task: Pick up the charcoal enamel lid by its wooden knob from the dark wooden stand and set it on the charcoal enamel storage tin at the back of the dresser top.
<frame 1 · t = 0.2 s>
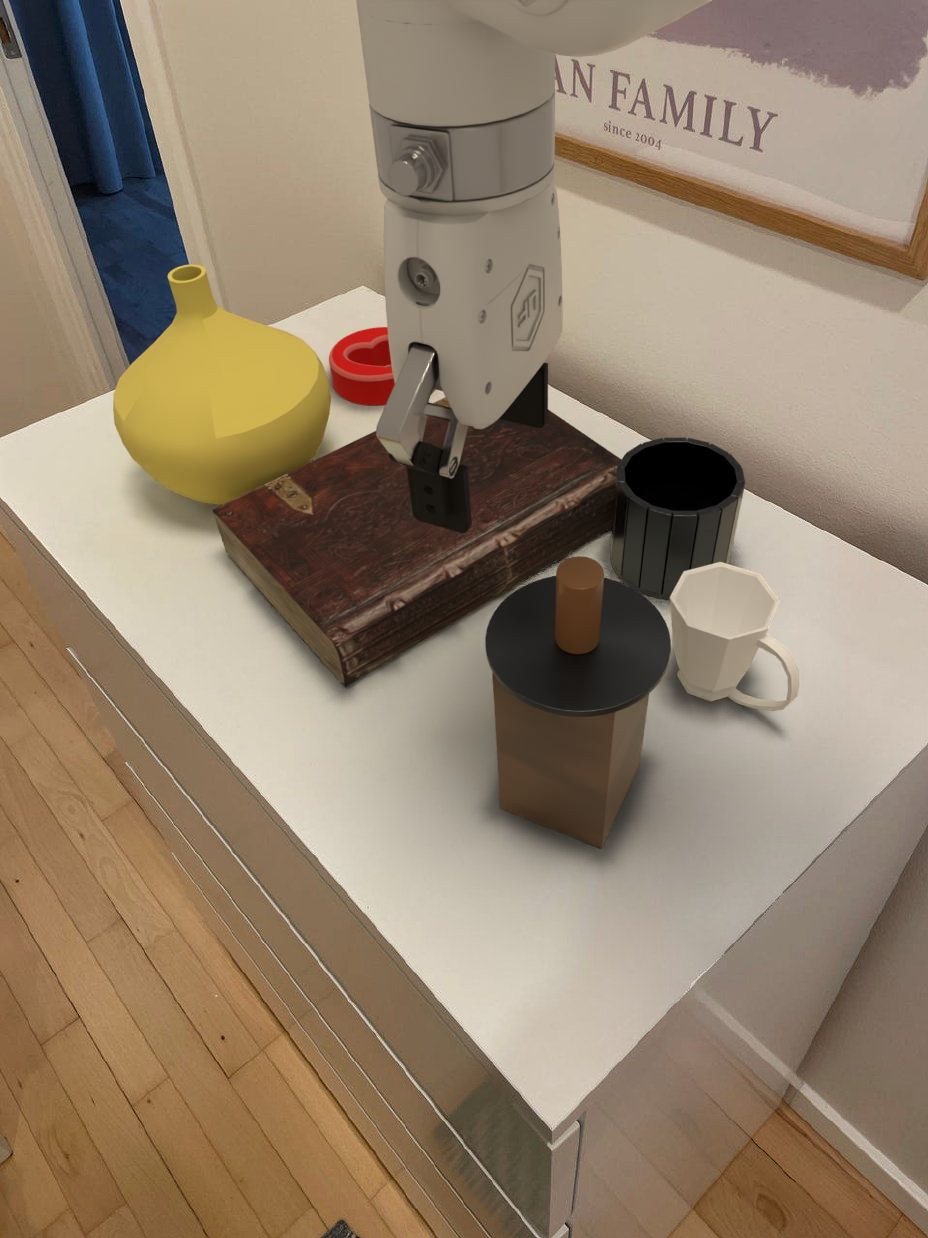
hand: (483, 469, 52), 21 cm above the dresser, tool pointing down, fingers open, 9 cm apart
cup: (724, 691, 66), on the dresser
stand: (570, 785, 62), on the dresser
tin lid: (576, 644, 51), point 14 cm above the dresser, touching stand
decorative ornament: (380, 379, 96), on the dresser
tin: (668, 558, 76), on the dresser
book: (432, 537, 79), on the dresser
vase: (244, 471, 87), on the dresser
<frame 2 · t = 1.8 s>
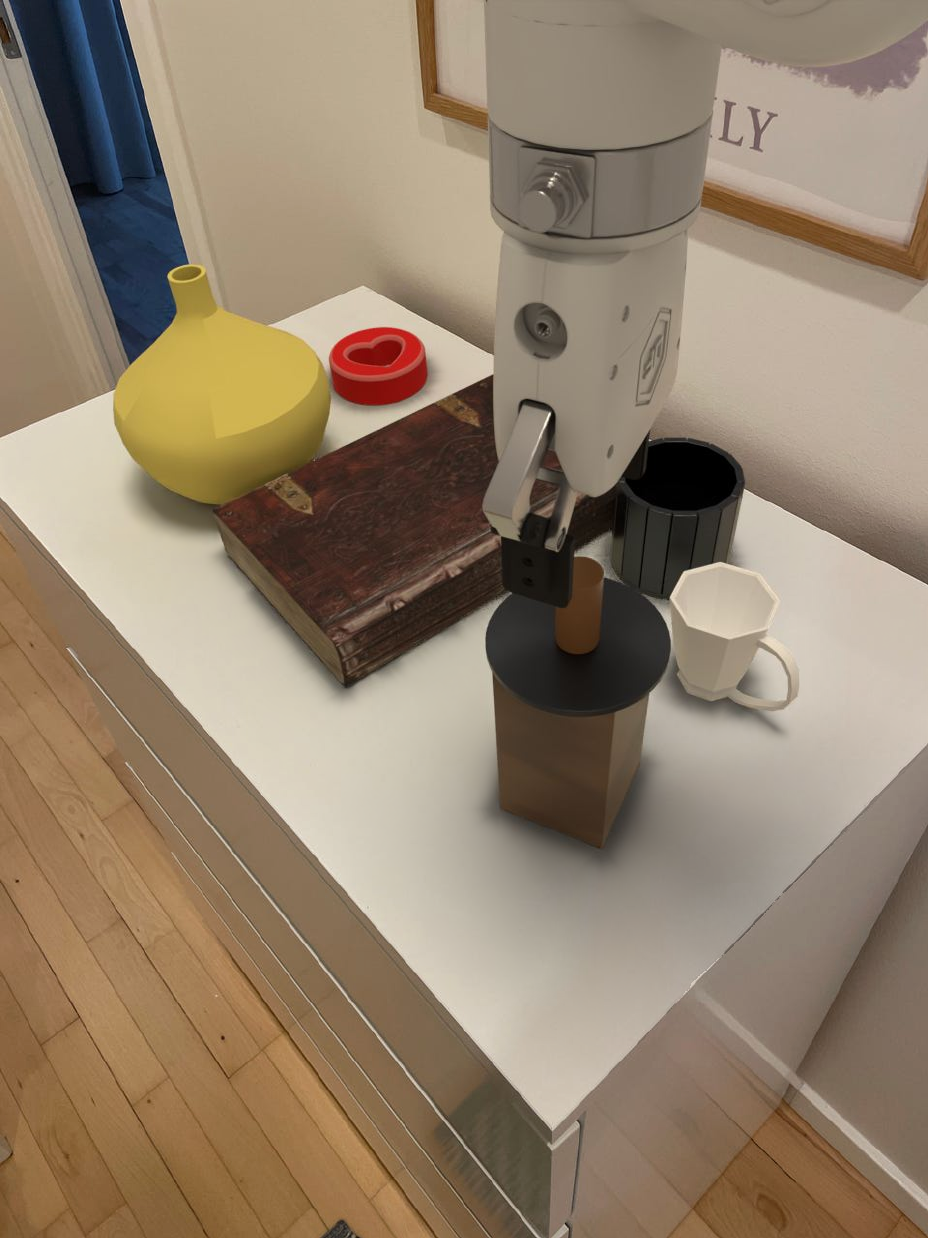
hand: (577, 529, 46), 22 cm above the dresser, tool pointing down, fingers open, 9 cm apart
nothing on the dresser moved.
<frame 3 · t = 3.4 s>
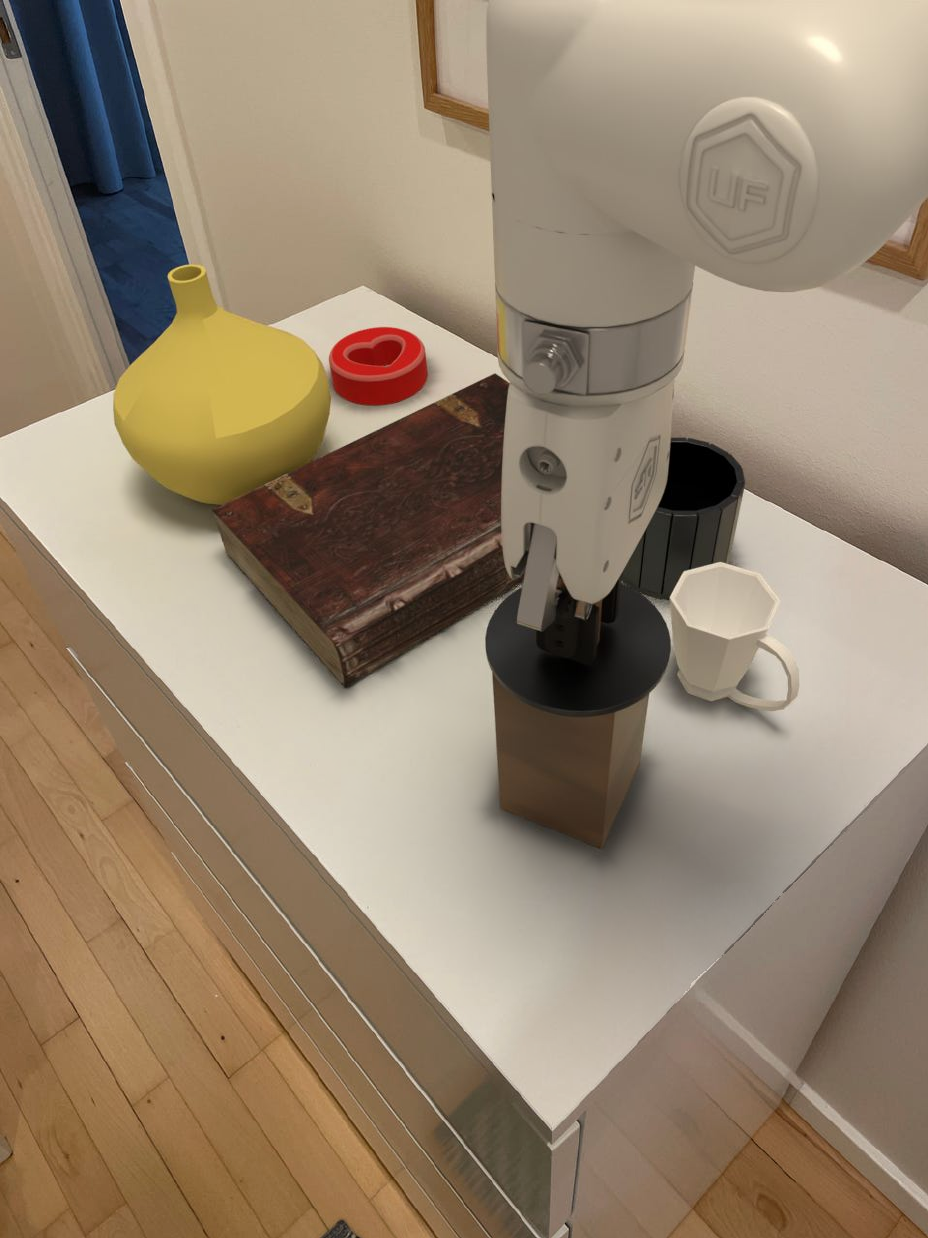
hand: (577, 630, 51), 15 cm above the dresser, tool pointing down, fingers closed on tin lid, 2 cm apart
tin lid: (576, 644, 51), point 14 cm above the dresser, touching gripper, stand
everything else where it was.
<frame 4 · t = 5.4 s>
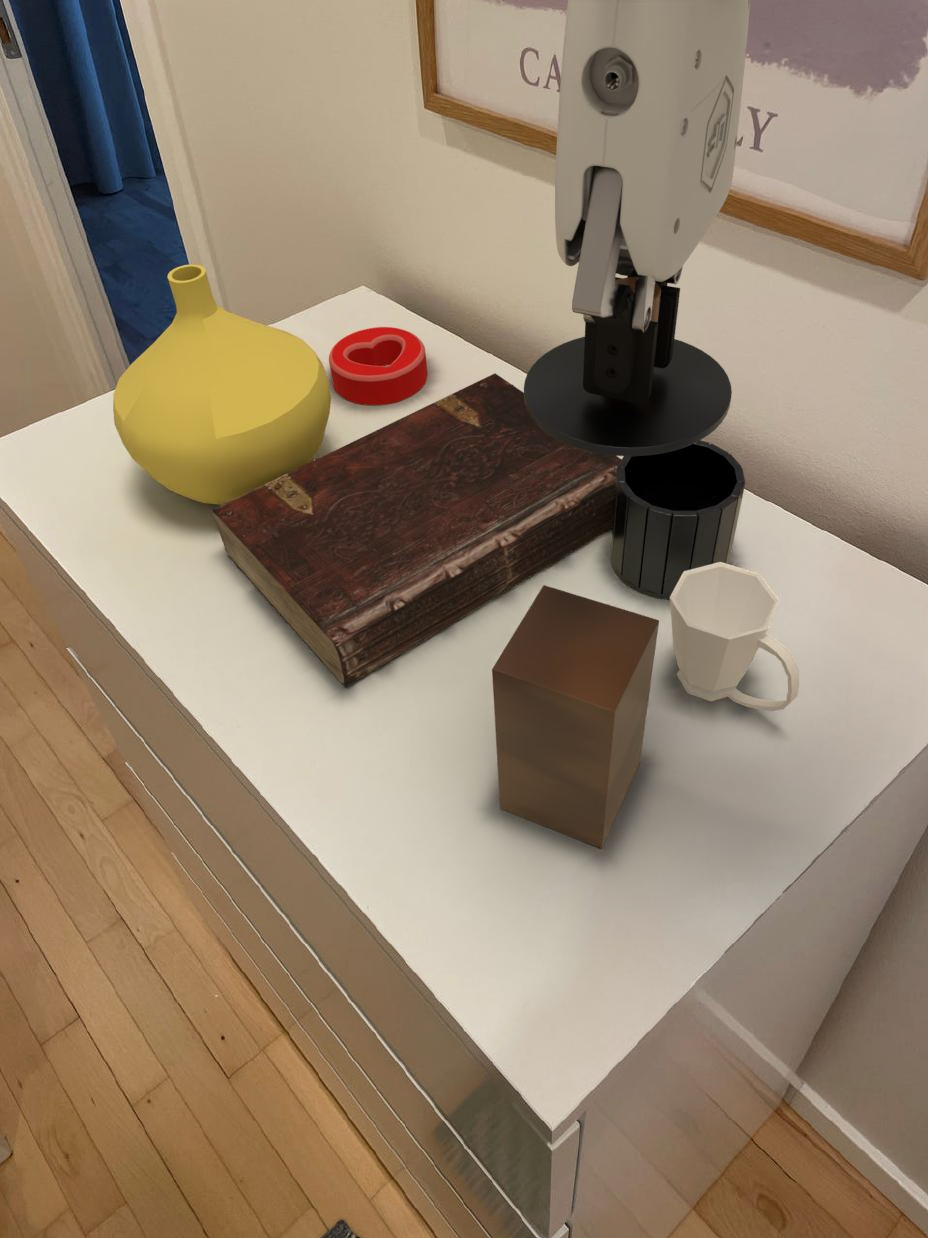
hand: (627, 374, 46), 27 cm above the dresser, tool pointing down, fingers closed on tin lid, 2 cm apart
tin lid: (625, 394, 46), point 26 cm above the dresser, touching gripper
everything else where it was.
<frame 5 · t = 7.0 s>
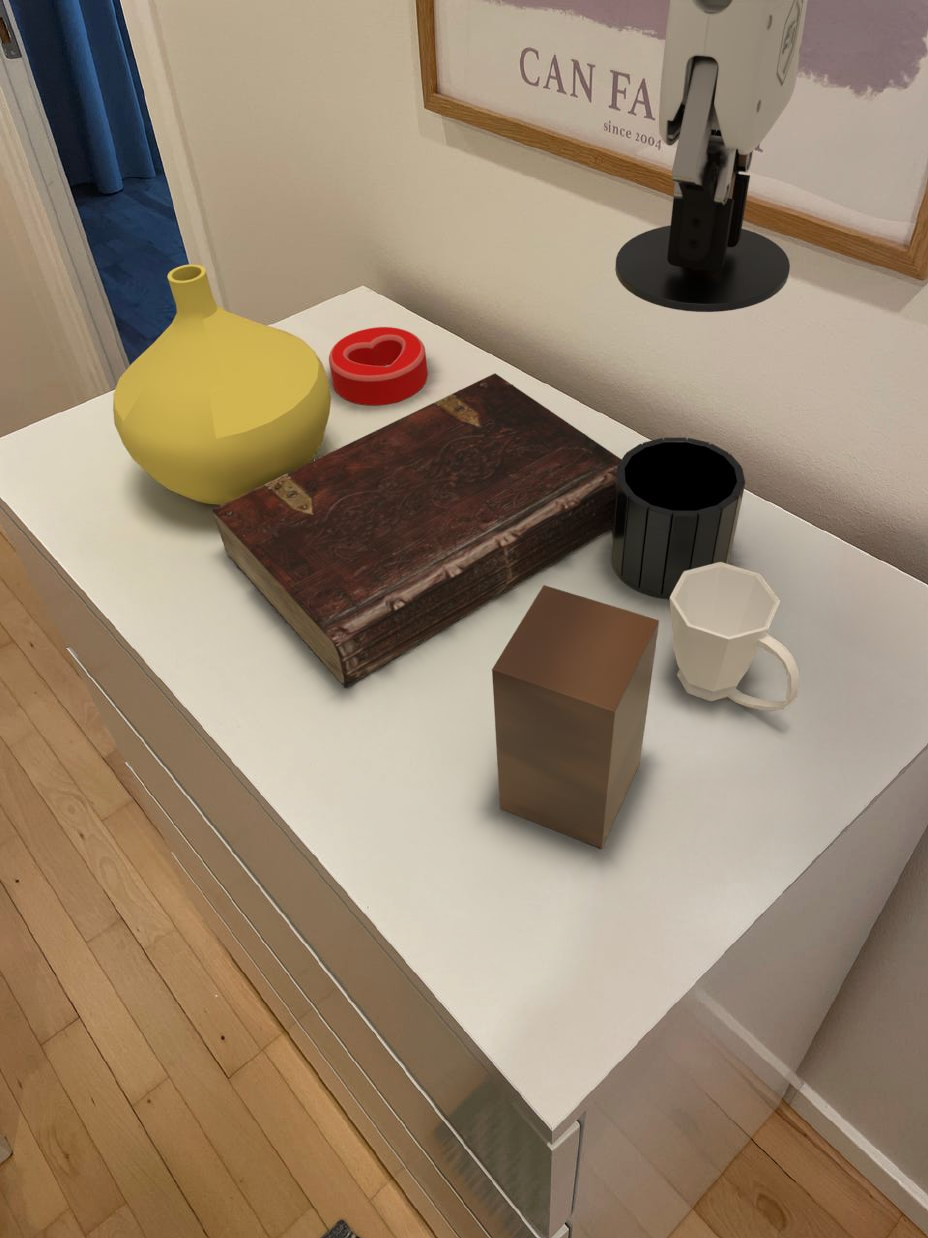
hand: (703, 251, 55), 27 cm above the dresser, tool pointing down, fingers closed on tin lid, 2 cm apart
tin lid: (700, 268, 56), point 25 cm above the dresser, touching gripper
everything else where it was.
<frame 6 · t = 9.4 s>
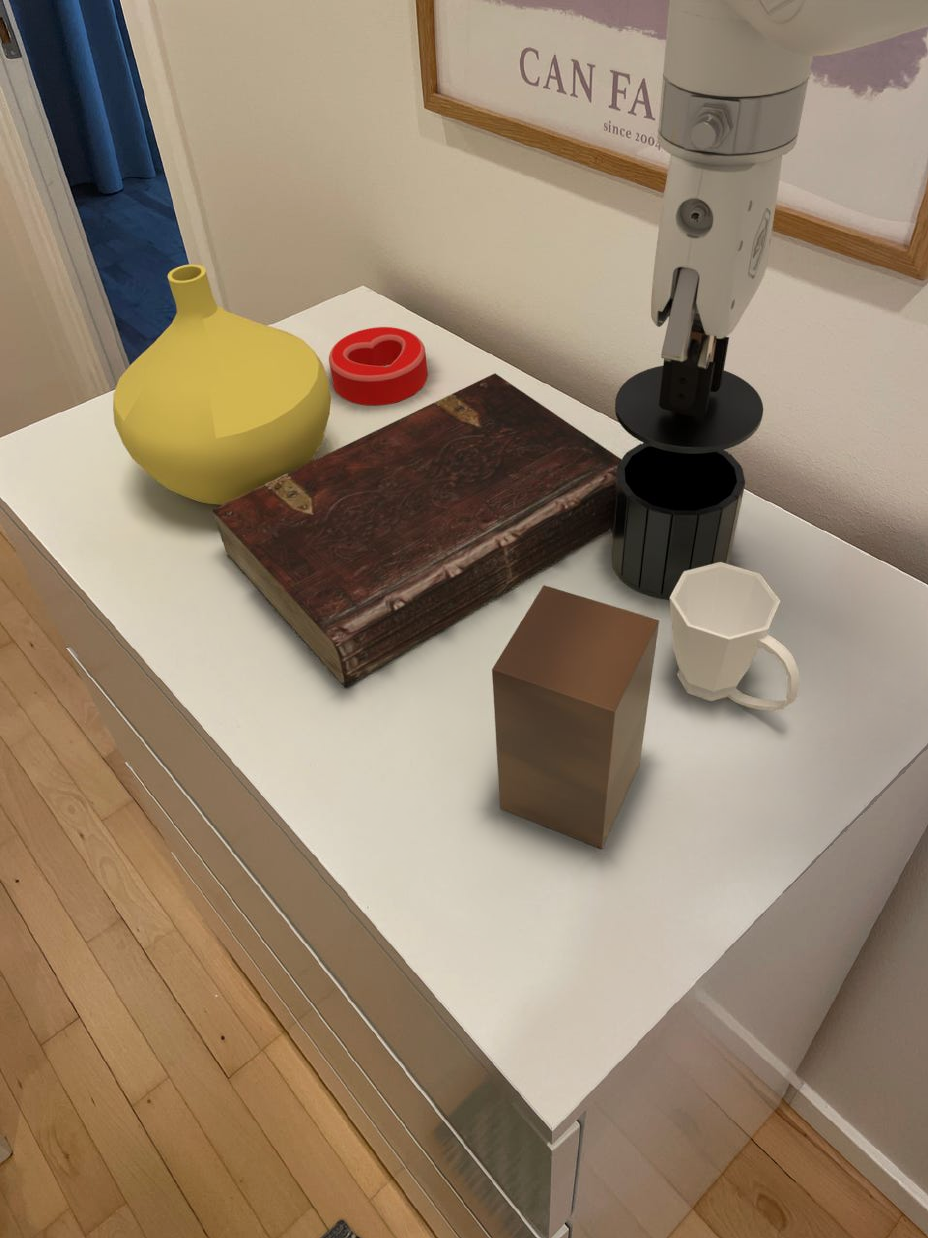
hand: (690, 396, 65), 15 cm above the dresser, tool pointing down, fingers closed on tin lid, 2 cm apart
tin lid: (687, 409, 65), point 14 cm above the dresser, touching gripper
everything else where it was.
when the fingers open (10 cm above the dresser, at t = 10.9 s): tin lid stays where it is, resting on tin.
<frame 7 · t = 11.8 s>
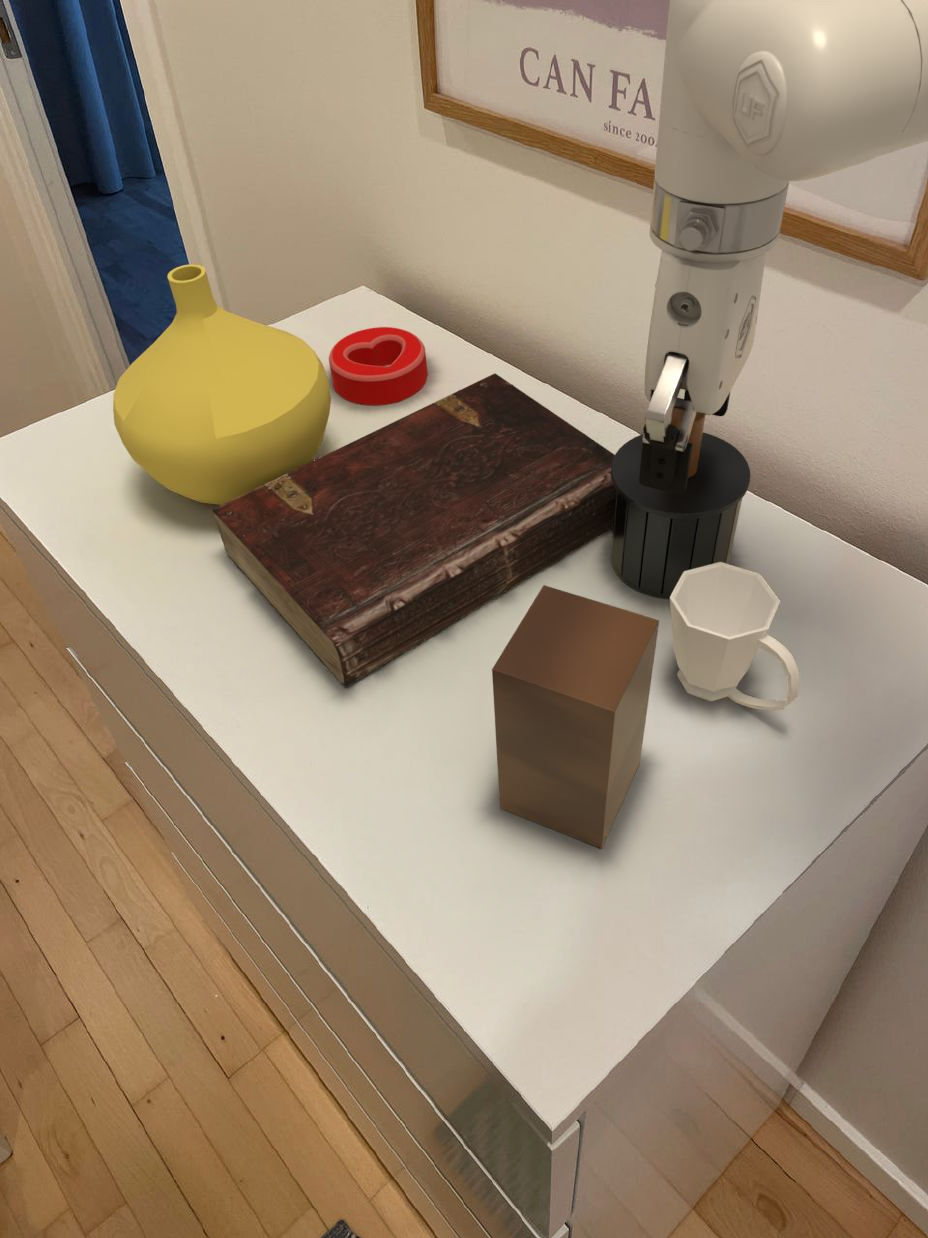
hand: (684, 447, 68), 11 cm above the dresser, tool pointing down, fingers open, 9 cm apart
tin lid: (679, 474, 69), point 8 cm above the dresser, touching tin
everything else where it was.
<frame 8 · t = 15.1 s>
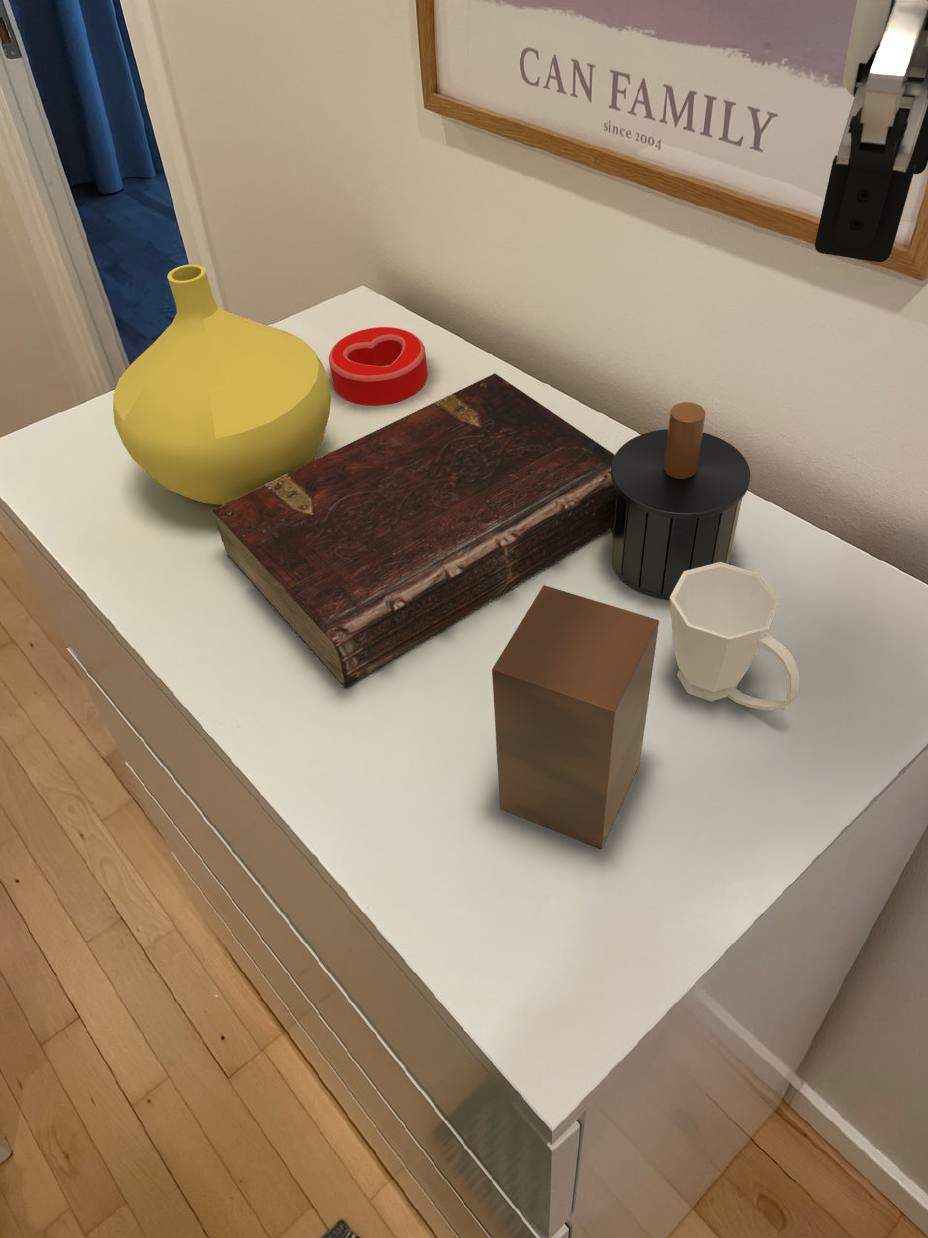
hand: (872, 208, 45), 32 cm above the dresser, tool pointing down, fingers open, 9 cm apart
nothing on the dresser moved.
at the end: tin lid 0.1 cm off-centre on the tin, point 8.5 cm above the tin's base; tin lid tilted 0° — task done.
